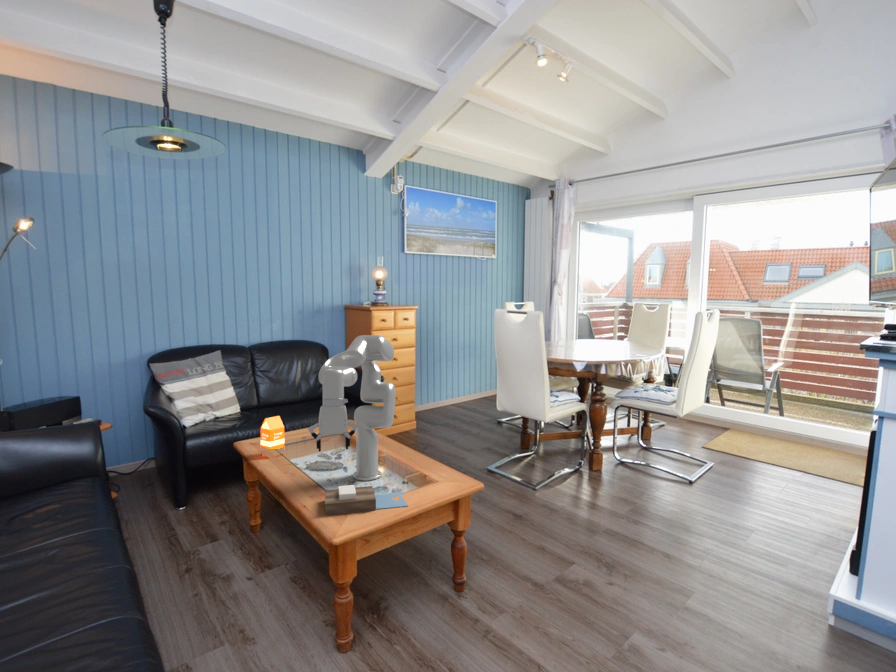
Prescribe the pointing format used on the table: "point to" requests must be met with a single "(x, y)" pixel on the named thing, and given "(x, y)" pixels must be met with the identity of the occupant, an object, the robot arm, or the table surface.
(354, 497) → the off-white flat slab
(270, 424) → the orange juice
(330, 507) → the brown wooden block
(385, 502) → the mat
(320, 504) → the table surface
